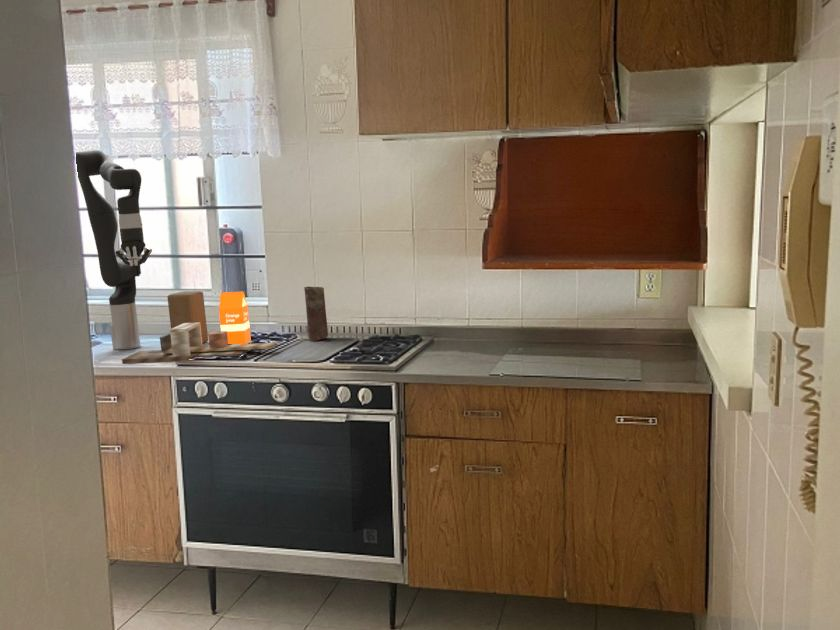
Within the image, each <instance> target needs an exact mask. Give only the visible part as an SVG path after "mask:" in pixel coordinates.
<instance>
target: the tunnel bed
mask: <svg viewBox="0 0 840 630" xmlns="http://www.w3.org/2000/svg"><path fill="white" fill-rule="evenodd" d="M169 333H170V336H171V344H172V353H164V354H163V351H161V349H158V350H155V349H153V350H138V351H136V352H134V353H132V354H130V355H128V356H126V357H124V358H122V359H121V362H122V365H123V364H139V363H140V364H141V363H143V364H144V363H163V362H164V363H166V362H167V363H169V362H182V361H181V360H189V359H193V358H195V357H212V356H241V355H242V354H243V353H245V352H246V351H248V350H228V351H206V352H190V347H197V346H204V343H203V344H202V335H201V325H200V322H196V323H183V324H181V325H179V326H177V327H174V328H172V329H171V328H169ZM189 361H190V360H189Z"/></svg>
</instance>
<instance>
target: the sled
mask: <svg viewBox="0 0 840 630" xmlns="http://www.w3.org/2000/svg"><path fill="white" fill-rule="evenodd" d="M207 334H208V344H209V345H203V346H197V347H190V352H206V351H228V350H249V349H253V350H266V349H267V350H268V349H273V348H274V347H276V346H277V344H276V342H265V343H263V342H262V343H250V344H239V345H228V337H227V331H221V330H219V331H212V332H210V333H207ZM159 341H160V350H161V351H163V354H164V353H172V344H171V336H170V332H169V333H165V334H164V335H162V336H160V337H159Z"/></svg>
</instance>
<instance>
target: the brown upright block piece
mask: <svg viewBox="0 0 840 630" xmlns="http://www.w3.org/2000/svg"><path fill="white" fill-rule="evenodd" d="M303 288H304V289H303V291H304V298H305V311H306V324H307V325H306V326H307V336H308V340H309V342H315V341H319V340H324V339H327V338H328V336H329V330H328V318H327V310H326V297H325V288H324V287H323V286H304V287H303Z"/></svg>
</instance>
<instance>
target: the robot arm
mask: <svg viewBox="0 0 840 630" xmlns="http://www.w3.org/2000/svg"><path fill="white" fill-rule="evenodd" d="M75 153H76V164H77V172H78V176H77V178H78V179H77V180H78V181H79V184H80V187H81V188H80V189H81V191H82V194H83V198H84V201H85V205H86V209H87V214H88V220H89V224H90V227H91V229H92V233H93V238H94V242H95V246H96V251H97V256H98V258H97V259H98V263H99V270H100V276H101V279H102V281H103V282H104V284H105V285H107V287H111V288H115V290H114V292H113V293H112V294H111V295H110V296H109V298H108V301H109V309H110V317H111V318H110V319H111V324H110V325H109V328H110V336H111V343H112V345H111V346H112V350H122V351H123V350H130V349H136V348H139V347H141V339H140V330H139V329H140V328H139V321H138V312H137V306H136V295H137V284H136V277H140V276H141V274H142V271H141V269H142V268H141V265H142V264H145V263H146V261H147V260H148V258H149V256H151V253H152V252H153V249H152V248H149V247H147V246H146V242H145V241H144V240H145V239H144V230H143V229H144V228H143V223H142V222H143V221H142V217H141V210H140V200H139V199H140V191H141V186H142V175H141V173H140V172H139V171H138V169H136V168H124V167H122V166H121V165H119V164H117V163H115V162H114V161H113V160H111V158H109V156H108V155H107V154H106V153H104V152H103V151H102V150H99V149H92V150H90V149H89V150H84V151H83V150H82V151H75ZM94 176H100V177H101V178H102V179H103V181H105V182H107V183H109V185H110V188H111V189H113V190H116V191H122V190H123V191H124V190H125V191H126V190H127V191H128V190H129V192H128V194H127V195H124V196H120V197H119V198H118V199H117V200H116V201H117V210H118V221H117V217H116V213H115V212H116V211H115V209H114V207H113V205H112V204H111V203H110V202H109V201H108V200H107V199H106V198H105V197H104V196H103V195H102V194H101V193H100V192H99V191H98V190H97V189H96V187H95V186H94V184H93V182H92V181H91V178H90V177H94ZM118 227H119V235H120V241H121V244H120V248H119V249H118V250H116V251H115V245H116V239H117V233H118ZM142 253H143V254H142ZM117 257H118V258H119V259H120V260H117Z"/></svg>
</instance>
